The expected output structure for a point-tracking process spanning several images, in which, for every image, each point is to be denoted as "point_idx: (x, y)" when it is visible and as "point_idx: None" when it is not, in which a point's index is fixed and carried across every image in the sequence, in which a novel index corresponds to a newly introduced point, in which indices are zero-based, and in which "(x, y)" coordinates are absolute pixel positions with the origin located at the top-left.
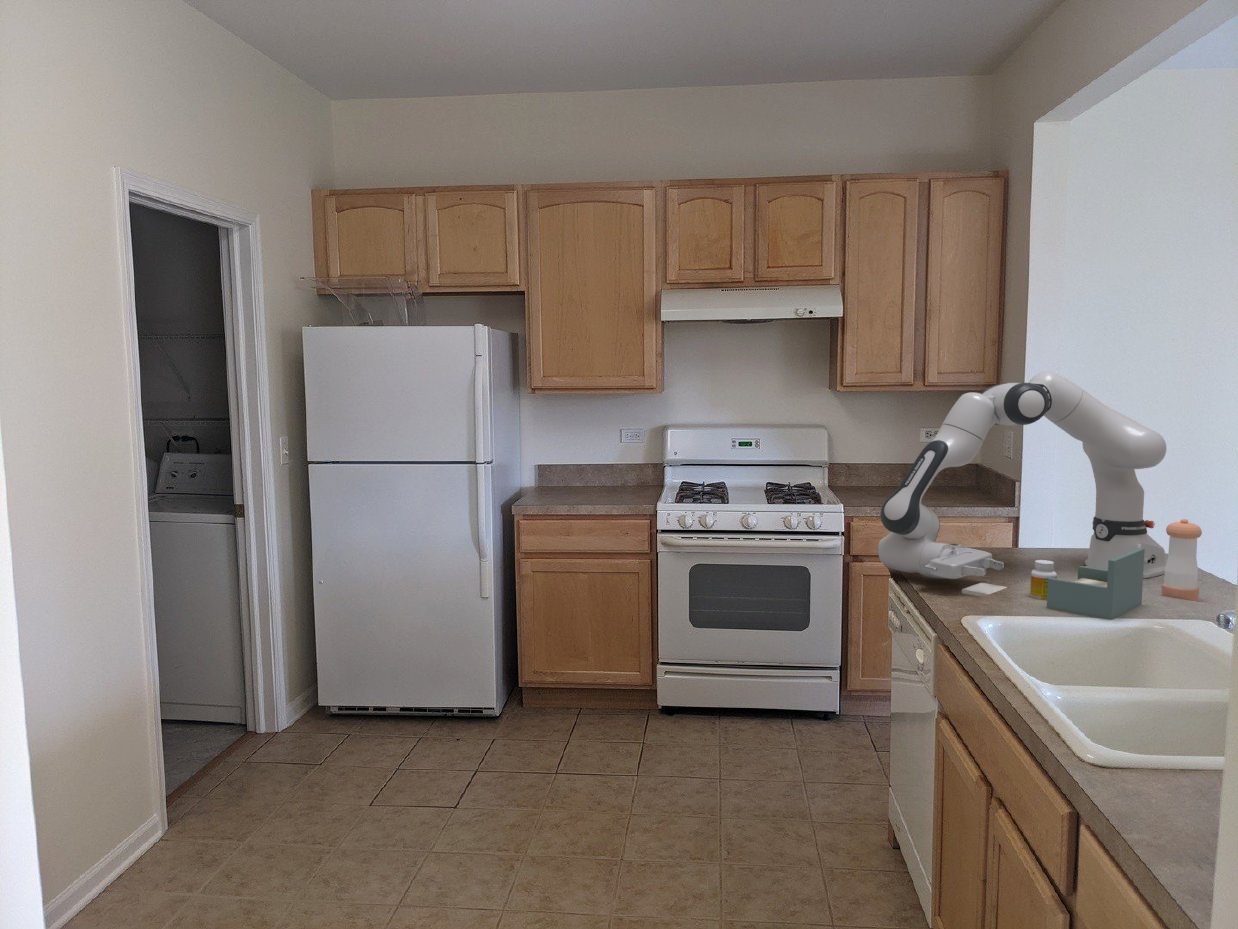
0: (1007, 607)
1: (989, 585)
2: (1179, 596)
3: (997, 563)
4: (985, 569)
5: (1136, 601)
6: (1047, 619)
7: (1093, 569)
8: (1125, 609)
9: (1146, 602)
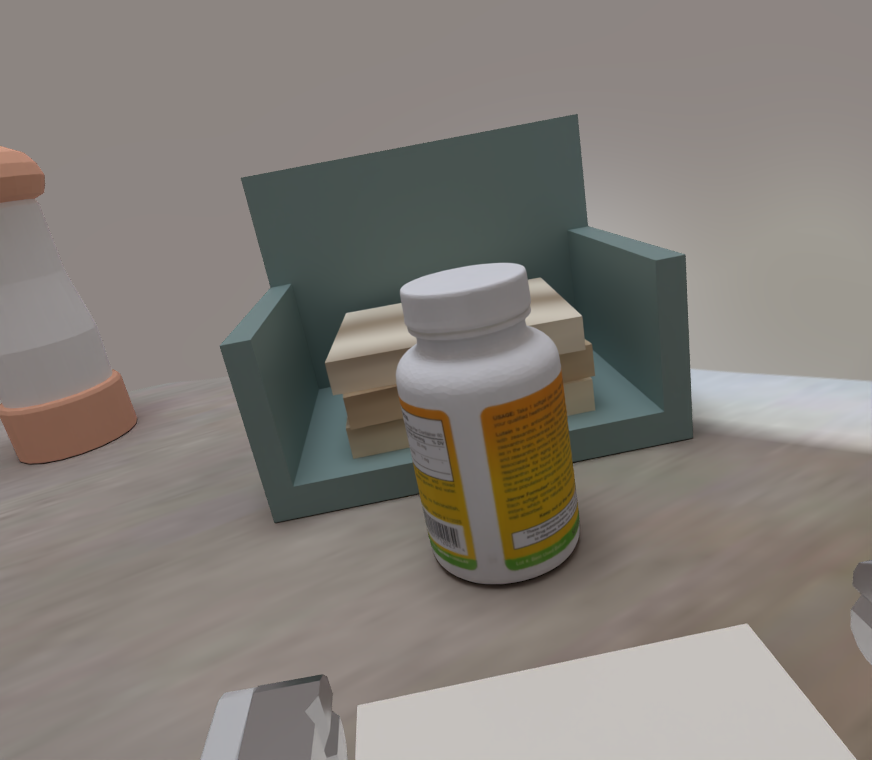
0: (835, 549)
1: None
2: (127, 398)
3: (308, 730)
4: (864, 565)
5: None
6: (754, 406)
7: (266, 321)
8: None
9: (162, 447)
